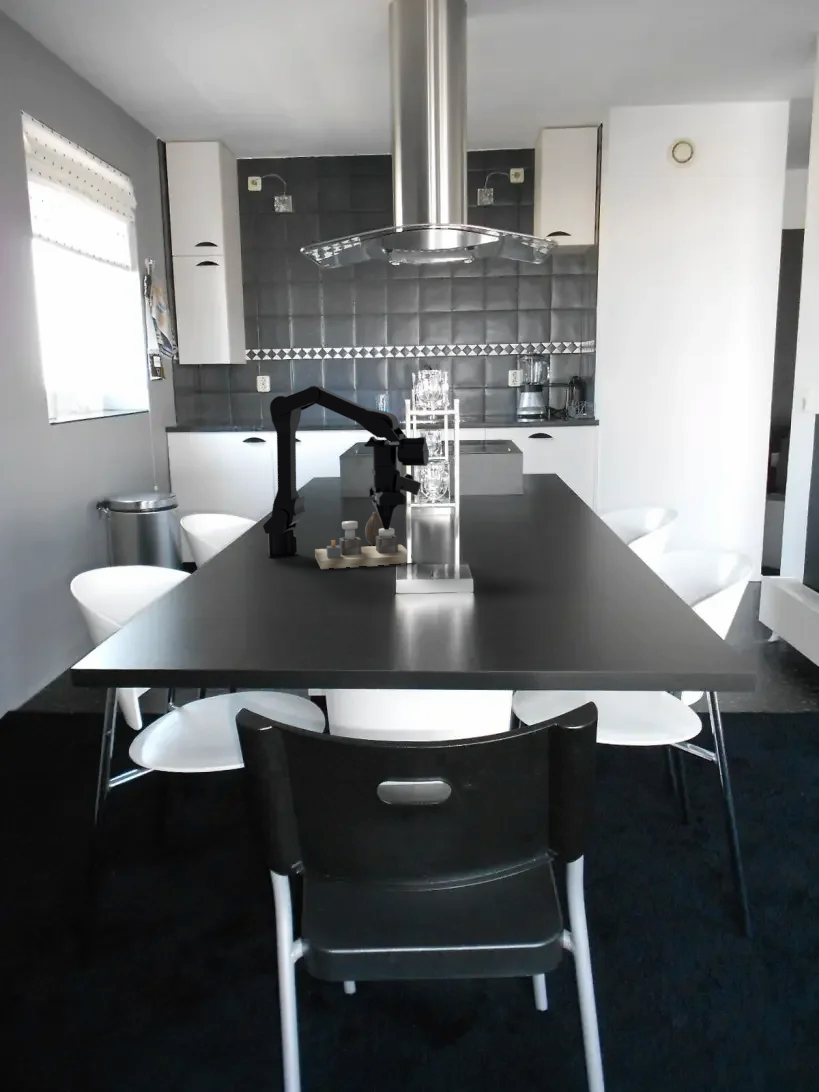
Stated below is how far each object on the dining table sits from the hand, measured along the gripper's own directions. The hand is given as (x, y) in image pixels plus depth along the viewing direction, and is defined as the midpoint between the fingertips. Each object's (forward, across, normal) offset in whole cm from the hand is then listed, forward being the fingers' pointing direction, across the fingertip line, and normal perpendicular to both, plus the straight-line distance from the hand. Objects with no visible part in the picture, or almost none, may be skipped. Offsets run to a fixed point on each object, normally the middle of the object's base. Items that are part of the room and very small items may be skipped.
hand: (386, 529), depth 202 cm
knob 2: (+5, 0, 0) cm, 5 cm away
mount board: (+7, 0, +6) cm, 10 cm away
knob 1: (+3, 0, +9) cm, 9 cm away
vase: (+8, +19, -1) cm, 20 cm away
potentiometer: (+5, -4, +14) cm, 15 cm away
